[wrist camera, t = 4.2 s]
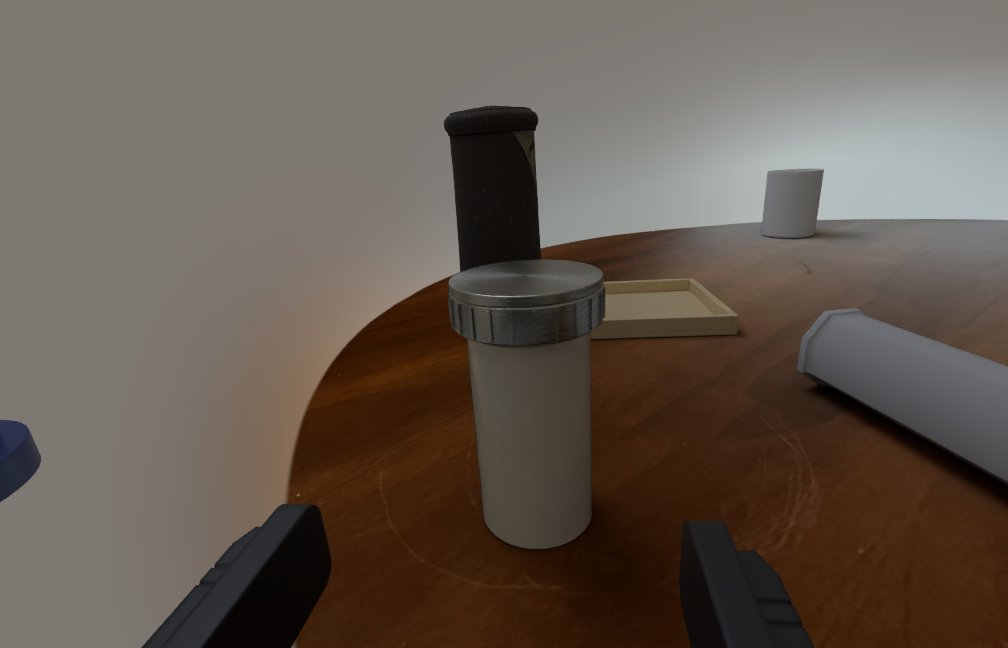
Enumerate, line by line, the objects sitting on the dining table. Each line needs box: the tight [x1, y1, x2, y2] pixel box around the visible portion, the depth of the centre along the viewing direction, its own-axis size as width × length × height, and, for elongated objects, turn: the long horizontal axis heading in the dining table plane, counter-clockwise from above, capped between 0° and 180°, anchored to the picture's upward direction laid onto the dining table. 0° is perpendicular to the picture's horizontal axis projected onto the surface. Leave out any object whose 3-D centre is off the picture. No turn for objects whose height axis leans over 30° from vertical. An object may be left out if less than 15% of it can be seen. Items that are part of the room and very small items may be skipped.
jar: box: [466, 332, 592, 549], centre depth 20 cm, size 5×5×10 cm
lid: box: [448, 260, 605, 346], centre depth 19 cm, size 6×6×2 cm
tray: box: [591, 278, 739, 339], centre depth 47 cm, size 13×13×2 cm
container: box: [444, 106, 541, 272], centre depth 48 cm, size 9×9×20 cm
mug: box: [761, 169, 824, 238], centre depth 82 cm, size 12×8×10 cm, turn 165°
